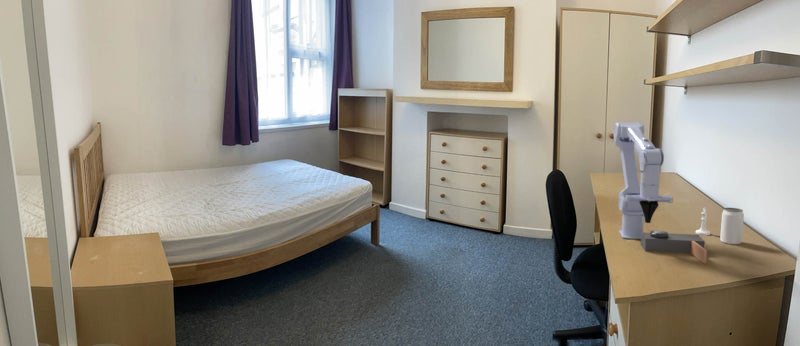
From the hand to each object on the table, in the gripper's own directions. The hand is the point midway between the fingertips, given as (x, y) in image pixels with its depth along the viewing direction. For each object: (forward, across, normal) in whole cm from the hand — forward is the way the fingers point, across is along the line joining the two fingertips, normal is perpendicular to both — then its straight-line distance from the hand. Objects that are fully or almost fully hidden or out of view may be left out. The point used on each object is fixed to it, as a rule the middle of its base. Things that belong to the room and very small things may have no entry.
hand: (647, 222), depth 173 cm
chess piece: (+10, +24, +22) cm, 34 cm away
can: (+10, +30, +12) cm, 34 cm away
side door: (+9, +14, -9) cm, 19 cm away
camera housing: (+9, +8, 0) cm, 12 cm away
